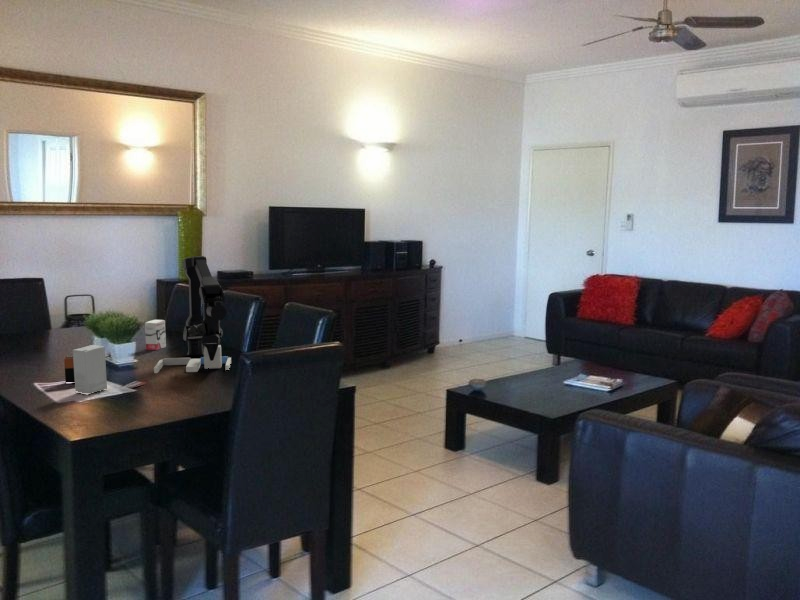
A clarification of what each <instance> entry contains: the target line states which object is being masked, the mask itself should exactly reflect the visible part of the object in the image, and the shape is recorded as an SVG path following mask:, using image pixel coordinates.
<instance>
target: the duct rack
mask: <svg viewBox="0 0 800 600" xmlns="http://www.w3.org/2000/svg"><path fill="white" fill-rule="evenodd" d="M221 358H222V364H225V371H226V370H229V371H230V369H229V368H231V365H230V364H232V356H231V357H230V356H228V355H227V356H226V355H225V356H222V355H221ZM185 365H186V366H185ZM201 365H204V356H201V357H200V358H191V357H169V358H168V357H167V358H166V357H165V358H162V359H159V361H158V362H157V363H156V365H155V366H154V367H153V373H154V374H158V373H159V372H160V370H161V369H162V368H163V366H185V372H186V373H197V372H198V371H199V369H200V367H201Z"/></svg>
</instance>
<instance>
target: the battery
mask: <svg viewBox="0 0 800 600" xmlns="http://www.w3.org/2000/svg"><path fill="white" fill-rule="evenodd" d="M63 360H64V361H63V363H64V377H65V383H66V382H75V377H74V362H73V353H72V354H70V353H69V354H66V356H65V357H64V359H63Z"/></svg>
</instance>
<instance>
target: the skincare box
mask: <svg viewBox="0 0 800 600" xmlns="http://www.w3.org/2000/svg"><path fill="white" fill-rule="evenodd" d="M72 356H73V362H74V377H75V384H74V389H75V391H78V392H82V393H92V392H96V391H100V390H103V391H105V390H104V389H106V390H108V382H107V381H108V380H107V366H106V365H107V364H106V348H105V346H103V345H98V344H90V345H87V346H83V347H80V348H79V347H78V348H75V349H72ZM75 391H74V392H75ZM100 392H101V391H100Z"/></svg>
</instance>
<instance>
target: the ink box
mask: <svg viewBox="0 0 800 600" xmlns="http://www.w3.org/2000/svg"><path fill="white" fill-rule="evenodd" d="M144 333H145V350H146V351H157V350H161V349H163V348H166V347H167V341H166V337H167V335H166V320H164V319H152V320H149V321H146V322H145V323H144Z"/></svg>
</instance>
